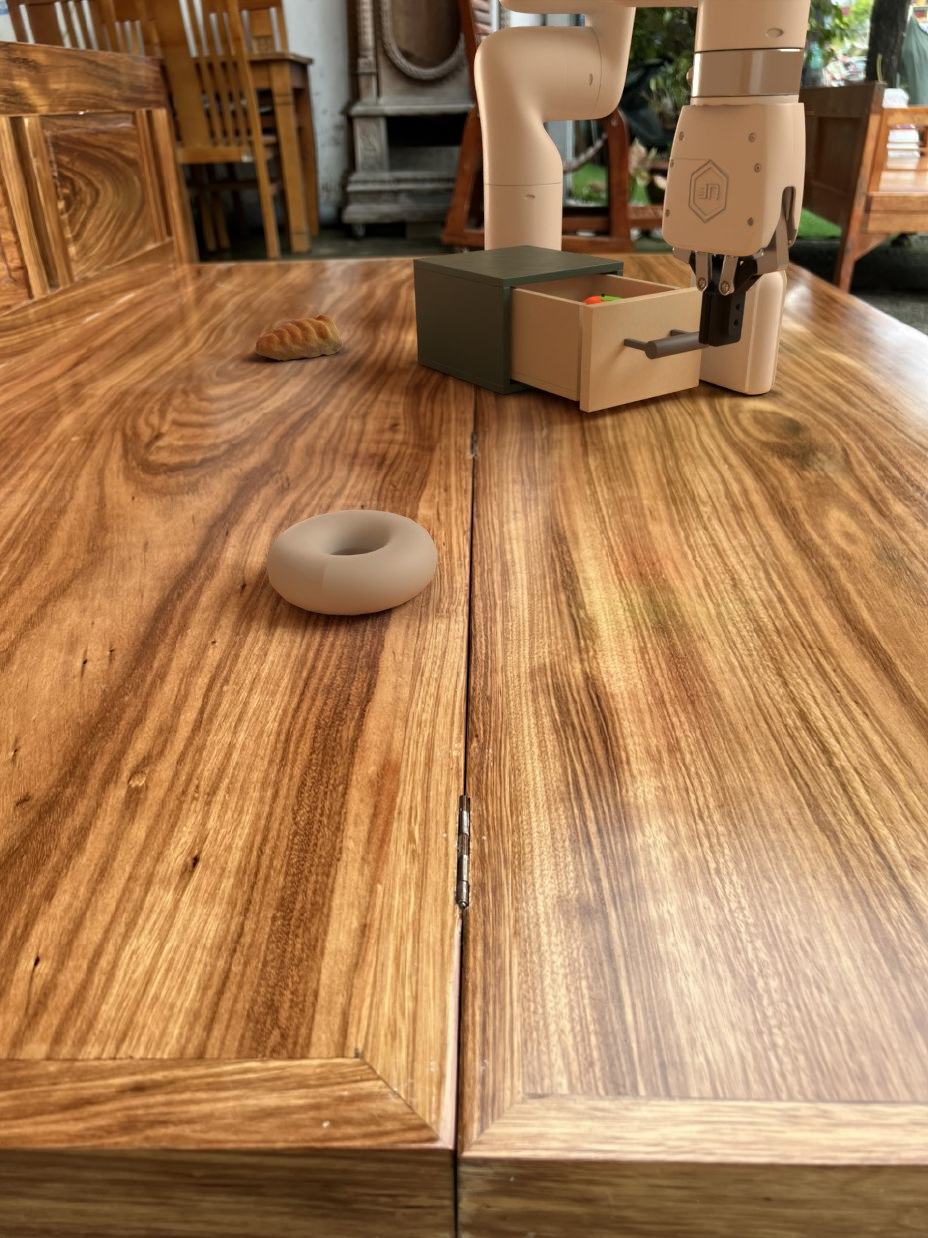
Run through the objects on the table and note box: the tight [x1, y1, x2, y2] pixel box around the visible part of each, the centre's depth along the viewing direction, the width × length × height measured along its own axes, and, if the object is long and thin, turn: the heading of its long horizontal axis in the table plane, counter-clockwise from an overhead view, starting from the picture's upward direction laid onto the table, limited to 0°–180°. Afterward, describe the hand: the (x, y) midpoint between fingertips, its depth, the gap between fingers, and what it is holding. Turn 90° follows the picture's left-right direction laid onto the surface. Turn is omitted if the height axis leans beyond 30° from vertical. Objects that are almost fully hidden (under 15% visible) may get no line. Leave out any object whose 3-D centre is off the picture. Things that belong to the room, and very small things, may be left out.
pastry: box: [254, 314, 343, 362], centre depth 107 cm, size 9×7×4 cm
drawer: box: [510, 273, 709, 413], centre depth 88 cm, size 19×13×9 cm
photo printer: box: [689, 252, 788, 395], centre depth 90 cm, size 10×4×12 cm, turn 26°
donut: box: [265, 509, 439, 616], centre depth 56 cm, size 10×4×10 cm
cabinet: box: [412, 245, 625, 395], centre depth 98 cm, size 16×15×11 cm
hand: (719, 342), depth 77 cm, fingers closed
